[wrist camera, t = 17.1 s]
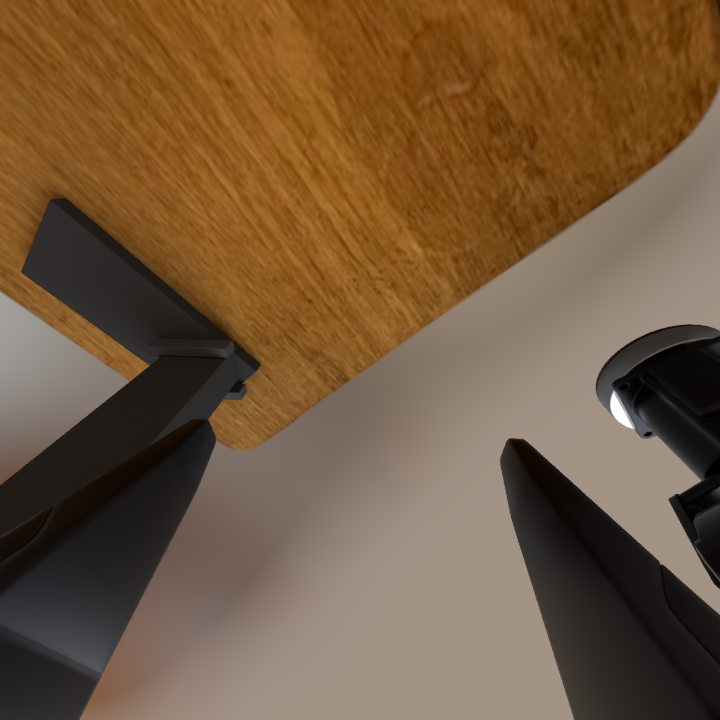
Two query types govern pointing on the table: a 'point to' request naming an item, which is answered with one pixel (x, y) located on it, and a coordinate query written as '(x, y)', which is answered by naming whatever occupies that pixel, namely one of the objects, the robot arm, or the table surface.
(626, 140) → the table surface
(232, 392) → the base pad
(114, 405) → the upright pad
